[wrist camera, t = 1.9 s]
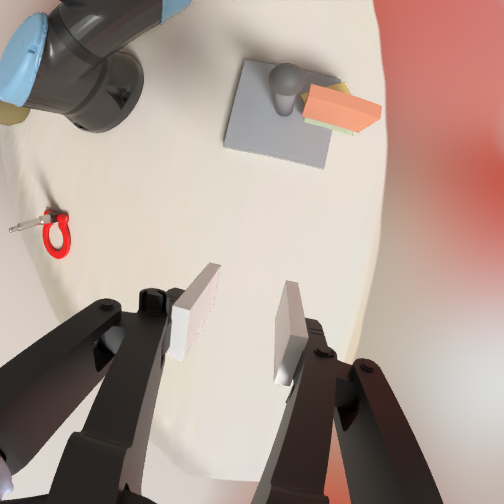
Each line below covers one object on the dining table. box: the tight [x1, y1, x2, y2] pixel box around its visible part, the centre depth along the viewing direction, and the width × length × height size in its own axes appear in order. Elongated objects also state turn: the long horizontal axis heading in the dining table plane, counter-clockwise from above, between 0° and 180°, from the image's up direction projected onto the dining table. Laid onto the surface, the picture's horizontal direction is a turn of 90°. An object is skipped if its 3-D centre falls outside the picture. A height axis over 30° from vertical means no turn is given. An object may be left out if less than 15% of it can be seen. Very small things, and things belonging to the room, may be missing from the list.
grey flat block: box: [223, 60, 354, 169], centre depth 34 cm, size 17×14×2 cm
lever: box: [269, 63, 382, 133], centre depth 27 cm, size 12×4×12 cm, turn 78°
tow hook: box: [9, 210, 71, 259], centre depth 36 cm, size 8×13×9 cm
